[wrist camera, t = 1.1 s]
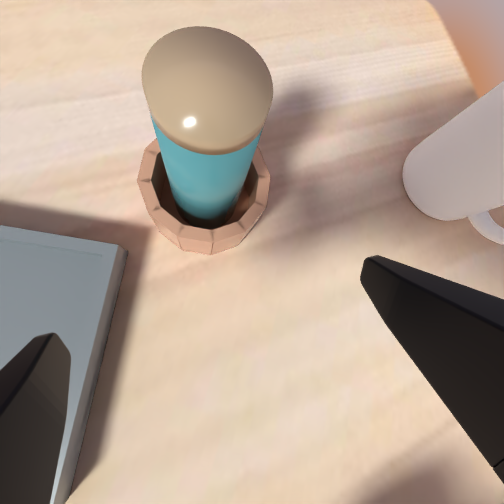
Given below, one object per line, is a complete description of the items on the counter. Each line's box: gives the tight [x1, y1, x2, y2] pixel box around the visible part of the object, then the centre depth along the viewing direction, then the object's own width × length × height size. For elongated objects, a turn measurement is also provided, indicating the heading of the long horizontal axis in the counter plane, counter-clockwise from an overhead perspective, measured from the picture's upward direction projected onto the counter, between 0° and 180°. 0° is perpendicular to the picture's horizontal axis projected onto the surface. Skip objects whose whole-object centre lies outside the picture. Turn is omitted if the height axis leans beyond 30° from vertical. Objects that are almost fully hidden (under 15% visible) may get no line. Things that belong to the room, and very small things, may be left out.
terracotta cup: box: [137, 138, 270, 255], centre depth 20 cm, size 8×8×4 cm
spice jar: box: [142, 26, 273, 229], centre depth 16 cm, size 5×5×12 cm
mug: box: [403, 81, 504, 245], centre depth 22 cm, size 12×8×10 cm
